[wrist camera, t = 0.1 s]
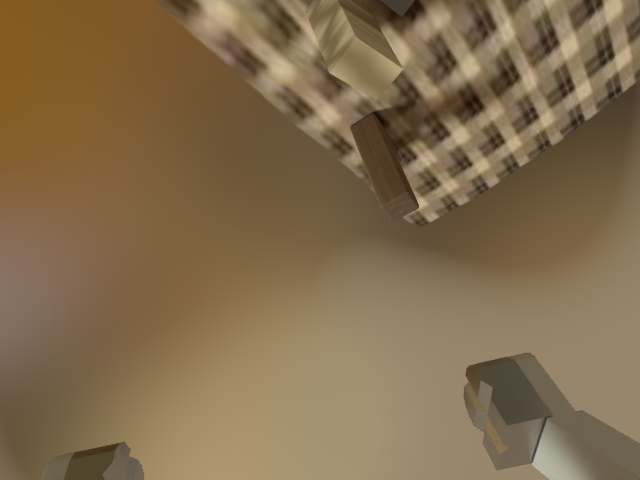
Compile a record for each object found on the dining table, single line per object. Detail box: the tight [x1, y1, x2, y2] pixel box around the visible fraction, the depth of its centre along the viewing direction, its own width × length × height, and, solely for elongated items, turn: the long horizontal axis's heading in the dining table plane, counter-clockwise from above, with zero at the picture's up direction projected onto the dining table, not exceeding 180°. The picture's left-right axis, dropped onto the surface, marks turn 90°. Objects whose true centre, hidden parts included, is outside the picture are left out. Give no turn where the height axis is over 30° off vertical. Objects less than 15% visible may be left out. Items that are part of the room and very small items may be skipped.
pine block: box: [306, 0, 403, 100], centre depth 51 cm, size 4×7×14 cm, turn 54°
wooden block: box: [351, 113, 419, 221], centre depth 67 cm, size 9×4×18 cm, turn 31°
